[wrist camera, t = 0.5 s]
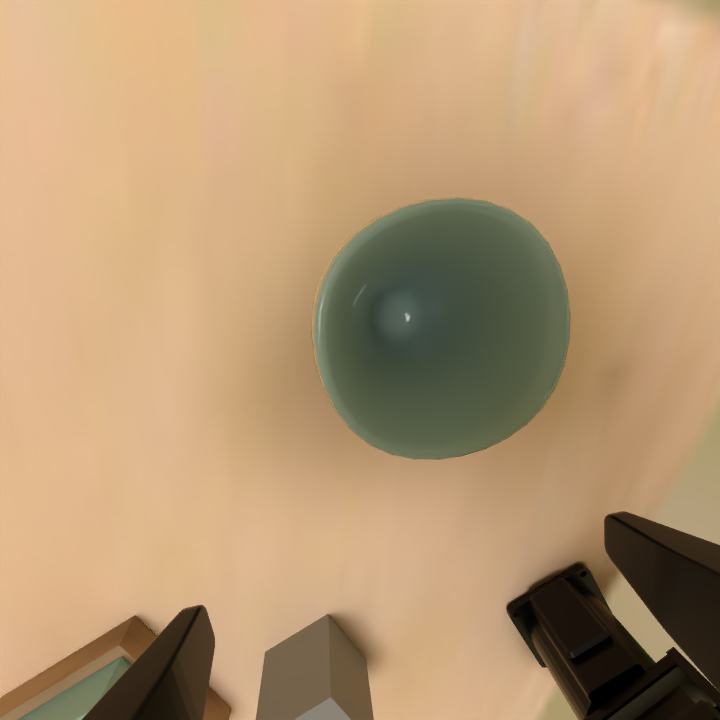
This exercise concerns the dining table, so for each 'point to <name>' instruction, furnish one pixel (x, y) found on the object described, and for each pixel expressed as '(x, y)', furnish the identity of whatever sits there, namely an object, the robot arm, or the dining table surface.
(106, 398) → the dining table surface
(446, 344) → the cup
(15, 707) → the tower bottom
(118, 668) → the tower top
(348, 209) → the dining table surface
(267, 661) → the grey cube
